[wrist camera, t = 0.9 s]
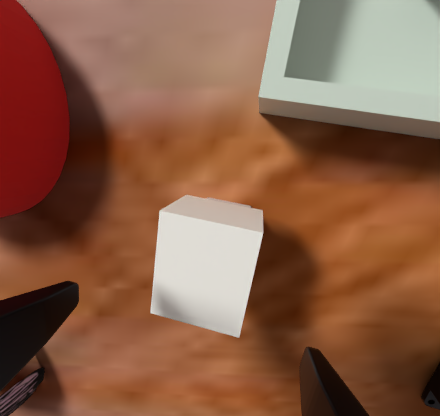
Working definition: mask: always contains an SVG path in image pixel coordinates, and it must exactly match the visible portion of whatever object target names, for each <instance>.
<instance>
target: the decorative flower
mask: <svg viewBox="0 0 440 416" xmlns="http://www.w3.org/2000/svg"><path fill="white" fill-rule="evenodd" d="M44 372H45V371H44V368H40V369H38V370H36V371H34V372H32V373H31V374H30V375H28V376H27V377H26V378H24V379H23V380H21V381H20V382H18V383H17V384H15V385H14V386H13V387H12V388H10V389H9V390H8V391H7V392H5V393H4V394H3V395H1V396H0V416H9V415H10V414H11V413H13V412H14V411H15V410H16V409H17V408H19V407H20V406H21V405H22V404H23V403H24V402H25V401H26V400H27V399H28V398H29V397H30V396H31V395H32V394H33V392H34V391H35V390H36V389H37V387H38V385H39V384H40V383H41V382H42V381H43V379H44Z"/></svg>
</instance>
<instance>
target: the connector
mask: <svg viewBox="0 0 440 416" xmlns="http://www.w3.org/2000/svg"><path fill="white" fill-rule="evenodd" d="M262 237H263V210H259V209H254V208H251V206H248V205H243V204H238V203H234V202H229V201H224V200H219V199H214V198H209V197H208V198H207V199H205V198H200V197H195V196H190V195H185V196H183V197H182V198H180V199H178V200H177V201H175V202H173V203H172V204H170V205H168V206H167V207H165V208H163V209H162V210H160V214H159V225H158V236H157V247H156V258H155V269H154V279H153V290H152V301H151V312H150V313H152V314H156V315H159V316H163V317H167V318H170V319H174V320H177V321H181V322H185V323H188V324H192V325H195V326H199V327H202V328H206V329H210V330H213V331H217V332H220V333H224V334H228V335H231V336H235V337H238V338H239V336H240V332H241V327H242V323H243V319H244V314H245V310H246V306H247V301H248V297H249V293H250V288H251V284H252V280H253V275H254V271H255V267H256V262H257V258H258V254H259V250H260V245H261V241H262Z"/></svg>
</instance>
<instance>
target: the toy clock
mask: <svg viewBox="0 0 440 416" xmlns="http://www.w3.org/2000/svg"><path fill="white" fill-rule="evenodd" d="M69 121H70V117H69V110H68V103H67V95H66V91H65V87H64V84H63V80H62V77H61V73H60V70H59V67H58V65H57V63H56V60H55V58H54V56H53V53H52V51H51V49H50V46H49V45H48V43H47V41H46V40H45V38H44V36H43V35H42V33H41V31H40V29H39V28H38V26H37V24H36V23H35V22H34V21H33V19H32V18H31V17H30V16H29V14H28V13H27V12H26V11H25V9H24V8H23V7H22V6H21V4H19V3H18V2H17V1H16V0H0V218H2V217H5V216H9V215H13V214H17V213H20V212H22V211H25V210H28V209H30V208H32V207H33V206H35V205H36V204H38V203H39V202H41V201H42V200H43V199H44V198H45V197H46V196H47V194H48V193H49V192H50V191H51V190H52V189H53V187H54V185H55V184H56V182H57V180H58V179H59V177H60V175H61V172H62V169H63V166H64V163H65V160H66V156H67V150H68V144H69Z"/></svg>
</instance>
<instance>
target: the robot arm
mask: <svg viewBox="0 0 440 416" xmlns="http://www.w3.org/2000/svg"><path fill="white" fill-rule="evenodd" d="M78 302H79V285H78V284H77V283H75V282H71V281H65V282H62V283H58V284H55V285H51V286H48V287H45V288H41V289H38V290H34V291H31V292H28V293H24V294H21V295H17V296H14V297H11V298H7V299H4V300H0V391H1V390H2V389H3V388H4V387H5V386H6V385H7V384H8V383H9V382H10V381H11V380H12V379H13V378H14V377H15V376H16V374H17V373H18V372H19V371H20V370H21V369H22V368H23V367H24V366H25V365H26V364H27V363H28V362H29V361H30V360H31V359H32V358H33V357H34V356H35V355H36V354H37V352H38V351H39V350H40V349H41V348H42V347H43V346H44V345H45V344H46V343H47V342H48V341H49V339H50V338H51V337H52V336H53V335H54V333H55V332H56V331H57V330H58V328H59V327H60V326H61V325H62V324H63V322H64V321H65V320H66V319H67V317H68V316H69V315H70V314H71V312H72V311H73V310H74V309H75V308H76V306H77V304H78ZM300 390H301V408H302V416H369V414H368V413H367V412H366V411H365V409H364V408H363V407H362V405H361V404H360V403H359V401H358V400H357V399H356V397H355V396H354V395H353V393H352V392H351V391H350V390H349V388H348V387H347V386H346V384H345V383H344V382H343V380H342V379H341V378H340V376H339V375H338V374H337V372H336V371H335V370H334V368H333V367H332V366H331V365H330V363H329V362H328V361H327V359H326V358H325V357H324V355H323V354H322V353H321V351H320V350H318V349H315V348H312V347H306V349H305V351H304V354H303V357H302V360H301V363H300ZM421 398H422V400H423V402H424V403H425V404H426V405H427V406H429V407H433V408H436V409H440V363H439V365H438V367H437V368H436V370H435V372H434V374H433V376H432V377H431V379H430V381H429V383H428V384H427V386H426V388H425V390H424V392H423V393H422V395H421Z"/></svg>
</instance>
